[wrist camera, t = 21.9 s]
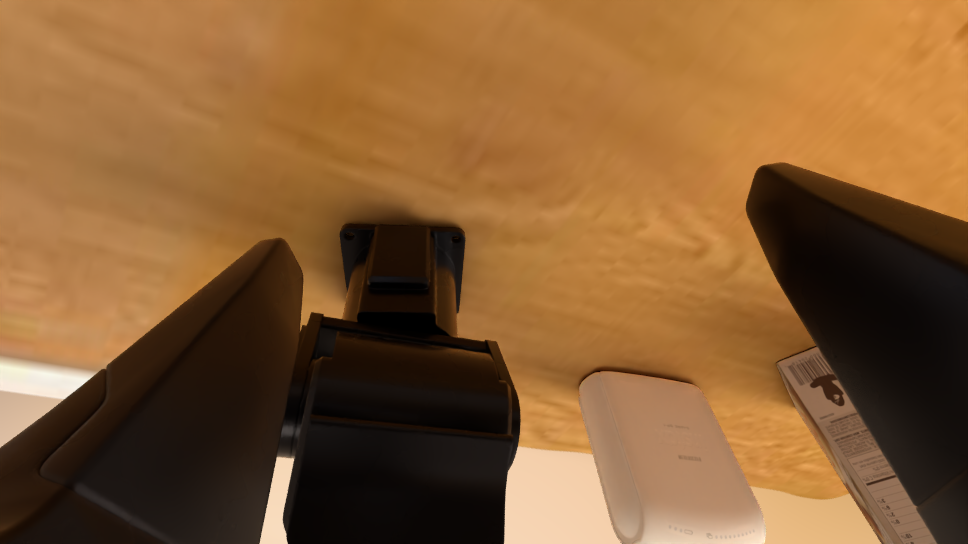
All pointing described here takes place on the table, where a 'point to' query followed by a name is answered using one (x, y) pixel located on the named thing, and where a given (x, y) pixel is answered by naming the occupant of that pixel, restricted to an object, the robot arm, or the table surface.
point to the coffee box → (852, 449)
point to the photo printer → (666, 463)
